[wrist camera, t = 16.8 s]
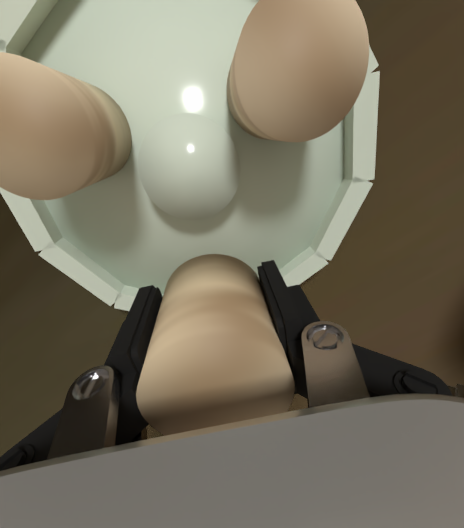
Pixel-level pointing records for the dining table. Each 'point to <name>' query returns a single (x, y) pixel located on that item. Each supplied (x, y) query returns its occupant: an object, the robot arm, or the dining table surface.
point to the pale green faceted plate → (184, 151)
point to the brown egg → (213, 351)
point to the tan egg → (56, 131)
